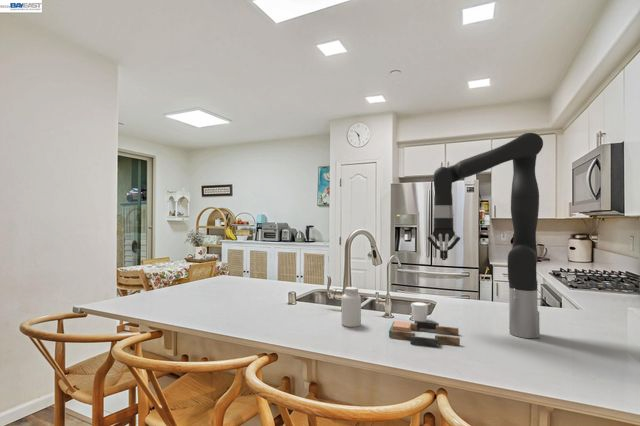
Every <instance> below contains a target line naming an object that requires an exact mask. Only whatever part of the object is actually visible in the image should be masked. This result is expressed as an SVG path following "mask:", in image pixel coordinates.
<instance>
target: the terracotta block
mask: <svg viewBox="0 0 640 426" xmlns="http://www.w3.org/2000/svg"><path fill="white" fill-rule="evenodd" d="M393 322H394V324H393V323H392V324H393V330H395V331H404V332H412V331H411V323H412V322H411V321H410V322H409V321H400V320H394V321H393Z"/></svg>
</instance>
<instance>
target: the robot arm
mask: <svg viewBox="0 0 640 426" xmlns="http://www.w3.org/2000/svg"><path fill="white" fill-rule="evenodd" d="M543 147H544V140H543V138H542V136H540V135H539V134H538V133H536V132H535V133H534V132H525V133H523V134H521V135H519V136H518V137H516V138H514V139H512V140H511V141H508V142H507V143H505V144H503V145H500V146H498V147H496V148H493V149H490V150H488V151H484V152H481V153H478V154H475V155H474V156H470V157H468V158H467V157H466V158H464V159H462V160H459V161H458V162H456V163H455V164H453V165H450V166H448V167H445V166H441V167H438V168H437V169H436V170H435V171H434V172H433V187H434V188H433V189H434V194H433V196H434V197H433V203H434V204H433V231H432V234H430V235H429V236H427V240H428V241H429V242H430V243H431V245H432V246H433V248H435V249H436V250H439V258H440V259H441V260H442V261H446V260H448V255H449V254H448V251H449V250H452V249H453V248H454V247H455V246H456V245H457V244H458V243H459V241H460V240H461V237H460V236H458V235H457V234H456V232H455V230H454V207H453V191H452V190H453V183H456V182H458V181H460V180H462V179H465V178H469V177H471V176H474V175H478V174H479V173H482V172H485V171H487V170H490V169H492V168H494V167H496V166H499V165H501V164H503V163H506V162H509V161H512V168H513V169H512V170H513V173H512V174H513V175H512V181H511V182H512V183H511V192H510V193H511V195H510V215H511V223H512V227H513V241H512V248H511V249H510V251H509V252H508V254H507V280H508V296H509V297H508V301H509V302H508V303H509V304H508V310H509V313H508V314H509V315H508V316H509V318H508V319H509V320H508V321H509V324H508V325H509V326H508V327H509V334H511V335H512V336H515V337H517V338H518V337H519V338H523V339H540V338H541V337H540V336H541V334H540V330H541V329H540V311H539V310H538V309H539V308H538V306H539V305H538V303H539V301H538V300H539V299H538V279H537V263H538V261H539V260H538V259H539V257H538V247H537V227H538V221H539V220H538V219H539V211H540V210H539V209H540V191H539V186H538V185H539V184H538V181H537V177H536V163H537V156H538V155H539V153H540V152H541V151H542V149H543ZM434 239H436V241H437V242H439V245H438V244H437V243H436V242H435V240H434ZM452 239H453V241H452ZM450 241H452V243H451V244H450V245H449V242H450ZM443 243H444V244H443ZM443 245H444V246H443Z"/></svg>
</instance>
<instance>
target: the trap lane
mask: <svg viewBox="0 0 640 426" xmlns="http://www.w3.org/2000/svg"><path fill="white" fill-rule="evenodd" d="M394 322H395V321H392V324H391V326H390V327H389V330H388V338H390V339H399V340H407V341H410V345H415V346H416V345H417V346H423V347H432V348H439V344H442V345H449V346H459V347H460V346H461V342H460V341H461V339H460V337H459V327H454V326H452V327H451V326H442V325H441V326H440V323H439V322H432V321H431V322H430V321H425V322H423V321H414V323H413V322H411V332H404V331H395V330H393V324H394ZM412 331H413V332H412ZM415 332H420V333H430V334H431V333H432V334H435V335H434V338H431V337H424V336H416V334H415ZM439 334H440V335H439ZM449 335H450V336H449Z"/></svg>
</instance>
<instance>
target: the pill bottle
mask: <svg viewBox="0 0 640 426" xmlns="http://www.w3.org/2000/svg"><path fill="white" fill-rule="evenodd" d="M358 292H359V288H358V287H355V286H346V287H345V288H344V294H343V295H341V324H342V326H344V327H347V328H348V327H349V328H357V327H360V326H361V324H362V323H361V322H362V298H361V295H360V294H359V293H358Z"/></svg>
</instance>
